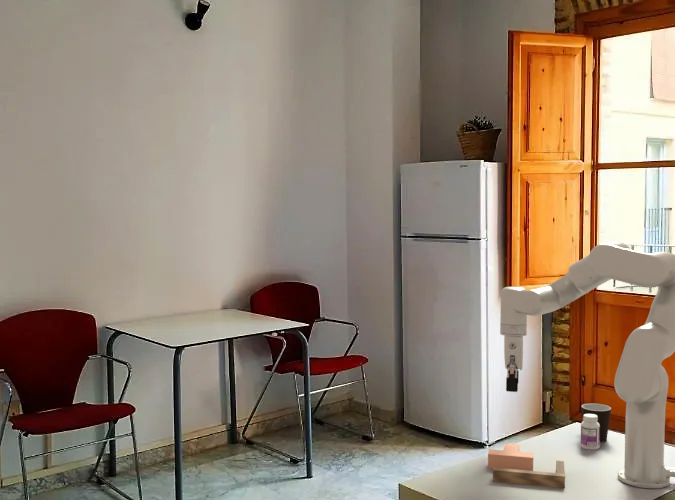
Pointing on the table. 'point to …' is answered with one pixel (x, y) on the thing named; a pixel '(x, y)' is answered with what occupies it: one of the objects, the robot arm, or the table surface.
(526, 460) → the t block
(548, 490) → the table surface
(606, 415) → the coffee mug
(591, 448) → the pill bottle
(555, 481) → the walnut fence
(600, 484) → the table surface
